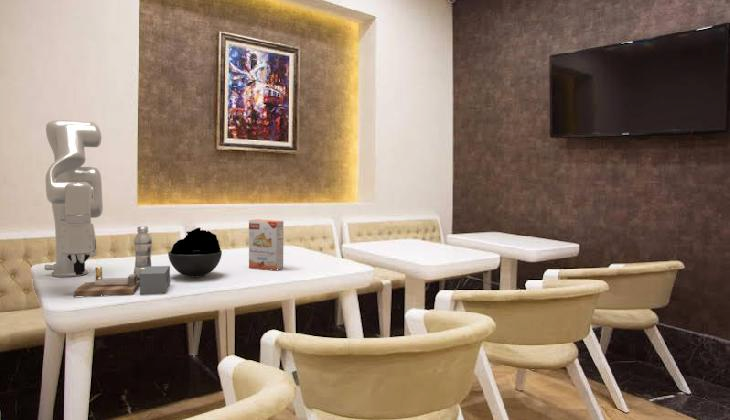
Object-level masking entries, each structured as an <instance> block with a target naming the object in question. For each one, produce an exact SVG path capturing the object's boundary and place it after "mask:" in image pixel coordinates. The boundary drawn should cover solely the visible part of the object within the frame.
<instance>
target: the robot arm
mask: <svg viewBox="0 0 730 420" xmlns="http://www.w3.org/2000/svg"><path fill="white" fill-rule="evenodd" d="M45 133H46V138H47V141H48V143H49V146H50V148H51V150H52V154H53V158H54V160H53V161H54V162H53V163H52V164H51V165H50V167H48V169H47V172H46V174H45V193H46V199H47V201H48V202H49V203H51V207H52V208H51V209H52V213H53V219H54V220H53V221H54V229H55V233H54V234H55V260H56V262H55V263H53V264H45V265H44V270H46V271H52V272H51V276H53V277H54V278H55V277H57V278H70V277H71V278H72V277H80V276H86V275H87V274H89V269H86V261H87V260H89V258H94V257H97V255H98V254H97V240H96V231H95V226H94V224H93V223H92V219H94V218H98V217H101V216H102V214H103V209H104V208H103V207H104V206H103V190H102V189H103V186H102V176H101V172H100V170H99V169H98V168H96V167H92V166H83V165H84V164H85V163H86V154H85V153H86V151H85V148H99V147H100V145H101V143H102V133H101V130H100V127H99V125H97V124H96V123H95V122H93V121H81V120H80V121H79V120H66V119H65V120H64V119H61V120H60V119H59V120H57V119H56V120H51V121H50V120H49V122H47V123H46V125H45ZM91 218H92V219H91Z"/></svg>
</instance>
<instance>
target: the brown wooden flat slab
mask: <svg viewBox="0 0 730 420" xmlns="http://www.w3.org/2000/svg"><path fill="white" fill-rule="evenodd" d="M127 278H128V284H102V285H95V281H87V282H86V281H85V282H84V283H83V284H81V285H80V286H79V287H77V288H76V289H75V290H74V291H73V297H74V296H93V297H105V296H104V295H119V296H133V295H135V294H136V292H137V291H138V290H140V280H137V274H134V273H131V274H129V275H128V276H127ZM101 295H102V296H101Z"/></svg>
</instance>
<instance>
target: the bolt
mask: <svg viewBox="0 0 730 420" xmlns="http://www.w3.org/2000/svg"><path fill="white" fill-rule="evenodd" d="M94 282H95V285H102V284H128V277H106V278H103V267H101V266H99V267H98V266H96V267H95V279H94Z"/></svg>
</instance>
